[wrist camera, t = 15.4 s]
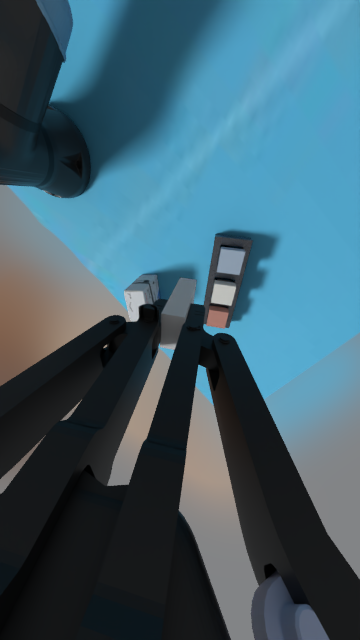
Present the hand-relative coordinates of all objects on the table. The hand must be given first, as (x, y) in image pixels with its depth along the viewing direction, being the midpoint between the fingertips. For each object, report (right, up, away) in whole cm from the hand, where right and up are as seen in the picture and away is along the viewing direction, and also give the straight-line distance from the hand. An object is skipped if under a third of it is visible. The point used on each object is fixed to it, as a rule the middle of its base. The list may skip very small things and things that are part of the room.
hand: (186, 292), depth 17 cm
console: (+11, +7, +32) cm, 35 cm away
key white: (+10, +6, +30) cm, 32 cm away
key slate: (+11, +12, +26) cm, 31 cm away
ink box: (-9, +7, +37) cm, 39 cm away
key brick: (+10, 0, +35) cm, 37 cm away
